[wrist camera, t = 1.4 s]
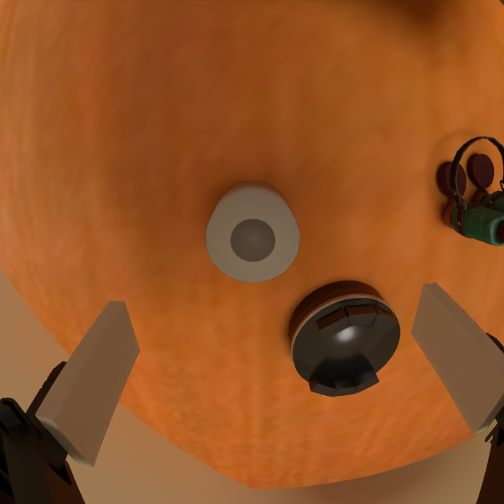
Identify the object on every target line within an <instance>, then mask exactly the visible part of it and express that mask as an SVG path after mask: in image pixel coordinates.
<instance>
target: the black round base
mask: <svg viewBox="0 0 504 504" xmlns="http://www.w3.org/2000/svg"><path fill="white" fill-rule="evenodd" d="M289 338H290V344H291V355H292V360H293V363H294V365H295V368H296V370H297V372H298V373H299V375H300V376H301V377H302V378H303V379H305V380H306V381H308V382H309V386H310V391H312V392H315V393H319V394H322V395H326V396H330V397H331V396H332V397H335V396H343V395H350V394H356V392H357V393H359V392H361V391H363V390H365V389H367V388H369V387H371V386H373V385H375V384H376V383H378V382H379V380H378V377H377V375H376V372H378V371H379V370H380V369H381V368H382V367H383V366H384V365H385V364H386V363H387V362H388V361H389V360H390V358H391V357H392V355H393V354H394V352H395V350H396V348H397V346H398V343H399V339H400V326H399V322H398V320H397V317H396V315H395V313H394V312H393V310H392V309H391V307H390V306H389V305H388V304H387V303H386V302H385V301H384V300H383V298H382V297H381V295H380V294H379V293H378V292H377V291H376V290H375V289H374V288H372V287H371V286H369V285H367V284H365V283H362V282H357V281H339V282H335V283H331V284H328V285H325V286H323V287H321V288H319V289H317V290H316V291H314V292H312V293H311V294H310V295H309V296H307V297H306V298H305V299H304V300H303V301H302V302H301V303H300V304H299V306H298V307H297V308H296V310H295V312H294V313H293V315H292V318H291V321H290V324H289Z"/></svg>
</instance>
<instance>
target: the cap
mask: <svg viewBox="0 0 504 504" xmlns="http://www.w3.org/2000/svg"><path fill="white" fill-rule="evenodd" d="M299 244H300V232H299V227H298V224H297V221H296V219H295V217H294V215H293V213H292V212H291V210H290V208H289V206H288V205H287V203H286V201H285V199H284V198H283V196H282V195H281V194H280V193H279V191H277V190H276V189H275V188H274V187H272V186H271V185H268V184H266V183H263V182H259V181H245V182H241V183H238V184H236V185H234V186H232V187H231V188H229V189H228V190H227V191H226V192H225V193H224V194H223V195H222V197H221V198H220V200H219V202H218V204H217V206H216V208H215V210H214V212H213V214H212V216H211V218H210V221H209V223H208V226H207V229H206V247H207V250H208V254H209V256H210V258H211V260H212V261H213V263H214V264H215V265H216V267H217V268H218V269H219V270H220V271H221V272H223V273H224V274H226V275H227V276H229V277H231V278H233V279H235V280H239V281H242V282H251V283H255V282H263V281H267V280H270V279H272V278H274V277H277V276H278V275H280V274H281V273H283V272H284V271H285V270H286V269H287V268H288V267H289V266H290V265H291V263H292V262H293V260H294V259H295V257H296V255H297V252H298V249H299Z"/></svg>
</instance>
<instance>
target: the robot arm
mask: <svg viewBox="0 0 504 504" xmlns="http://www.w3.org/2000/svg"><path fill="white" fill-rule="evenodd" d="M499 1H500V2H501V3H502V4H503V5H504V0H499ZM411 334H412V336H413V337H414V339H415V340H416V342H417V343H418V345H419V346H420V348H421V349H422V351H423V352H424V354H425V355H426V357H427V358H428V360H429V361H430V363H431V364H432V366H433V368H434V369H435V371H436V372H437V374H438V375H439V377H440V379H441V380H442V382H443V384H444V385H445V387H446V388H447V390H448V392H449V393H450V395H451V397H452V398H453V400H454V402H455V404H456V405H457V407H458V409H459V410H460V412H461V414H462V416H463V417H464V419H465V421H466V423H467V425H468V426H469V428H470V430H471V432H472V434H473V435H475V434H477V433H479V432H481V431H483V430H485V429H487V428H488V427H489V425H490V424H491V423H492V421H493V420H494V419H496V421H497V422H498V423H497V425H496V426H495V427H494V428H493V430H492V431H491V432H490V433H489V435H488V436H487V437H486V439H485V442H487V441H488V440H489V439H490V438H491V436H492V435H493V439H492V440H491V441H490V443H492V444H491V449H490V455H489V459H488V463H487V468H486V472H485V476H484V479H483V483H482V487H481V490H480V493H479V497H478V500H477V503H476V504H504V346H503V345H502V344H501V343H500V342H499V341H498V340H497V339H496V338H495V337H493V336H492V335H490V334H488V333H485V332H484V331H483V330H482V329H481V328H480V327H479V325H478V324H477V323H476V322H475V321H474V320H473V319H472V318H471V317H470V316H469V315H468V314H467V313H466V312H465V311H464V310H463V309H462V308H461V307H460V306H459V305H458V304H457V303H456V302H455V301H454V300H453V299H452V298H451V297H450V296H449V295H448V294H447V293H446V292H445V291H444V290H443V289H442V288H441V287H440V286H439V285H438V284H437V283H429V284H423V288H422V292H421V296H420V301H419V305H418V309H417V313H416V316H415V320H414V324H413V327H412V331H411ZM139 352H140V348H139V345H138V342H137V339H136V336H135V333H134V330H133V327H132V324H131V321H130V318H129V314H128V311H127V307H126V304H125V301H109V303H108V304H107V305H106V307H105V308H104V310H103V311H102V312H101V314H100V315H99V316H98V318H97V319H96V321H95V322H94V323H93V325H92V326H91V328H90V329H89V331H88V332H87V333H86V335H85V336H84V338H83V339H82V341H81V342H80V344H79V345H78V347H77V348H76V350H75V351H74V353H73V354H72V356H71V357H70V359H69V360H68V362H64V361H63V362H61V363H60V364H59V365H58V366H56V367H55V368H54V369H53V370H52V372H51V373H50V375H49V376H48V378H47V380H46V381H45V382H44V384H43V385H42V388H41V389H40V390H39V392H38V393H37V395H36V397H35V398H34V400H33V402H32V403H31V405H30V406H29V408H28V410H27V412H26V413H24V411H23V410H22V409H21V407H20V406H19V405H18V403H17V402H16V401H15V400H14V399H12V398H2V399H1V400H0V504H85V502H84V500H83V498H82V495H81V493H80V491H79V489H78V486H77V484H76V481H75V479H74V476H73V474H72V471H71V469H70V466H69V464H68V463H67V461H66V460H65V459H66V457H67V454H69V455H70V456H71V457H72V458H73V459H74V460H75V461H76V462H78V463H82V464H85V465H88V466H91V467H93V466H94V464H95V461H96V458H97V455H98V452H99V450H100V447H101V444H102V442H103V439H104V436H105V433H106V431H107V428H108V426H109V423H110V421H111V418H112V416H113V413H114V411H115V408H116V406H117V403H118V401H119V398H120V396H121V393H122V391H123V389H124V386H125V384H126V381H127V379H128V377H129V374H130V372H131V370H132V367H133V365H134V363H135V361H136V358H137V356H138V354H139Z"/></svg>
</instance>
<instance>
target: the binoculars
mask: <svg viewBox="0 0 504 504" xmlns="http://www.w3.org/2000/svg"><path fill="white" fill-rule="evenodd" d="M483 138H484V139H488V140H489V141H491V142H492V143H493V144H494V145H495V146H497V148H498V150H499V151H500V153H501V155H502V161H503V180H501V181H500V185H501V189H502V190H503V191H496V192H494V193H492V194H491V195H489V194H488V193H487V191H486V190H485V189H484V188H488V187H489V186H490V185H491V184H492V181H493V178H494V166H493V163H492V161H491V159H490V158H489V157H488V156H487V155H485V154H475V155H472V156H471V157H470V159H469V161H468V165H467V169H468V174H469V176H470V178H471V180H472V181H473V183H474V184H475V185H477V186H479V190H480V192H478V194H477V195H476V197H475V200H474V204H466V201H465V200H463V198H462V196H463V195H464V193H465V190H466V174H465V171H464V169H463V168H462V166H461V165H460V164H459V162H460V160H461V158H462V156H463V153H464V152H465V151H466V150H467V148H468V147H469V146H470V145H471V144H473V143H474V142H476V141H477V140H480V139H483ZM438 179H439V183H440V186H441V188H442V190H443V191H444V193H445V194H446V195H447V196H448V197H450V198H451V201H452V202H451V203H450V204H449V206H448V207H447V209H446V211H445V214H444V223H445V225H446V226H447V227H449V228H452V229H454V230H455V231H456V232H457V233H460V234H461V235H462V236H465V237H467V238H473V239H476V240H479V241H482V242H485V243H488V244H490V245H494V246H502V245H504V189H503V186H502V182H503V184H504V147H503V145H501V144H500V143H499V142H498V141H497V140H496V139H495V138H492V137H485V136H484V137H476V138H474V139H471V140H469V141H468V142H466V143H465V144H464V145H463V146H462V147H461V148H460V149H459V150H458V151H457V153H456V155H455V157H454V160H453V162H449V163H444V164H443V165H442V166H441V167H440V169H439V174H438ZM463 203H464V205H463Z"/></svg>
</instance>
